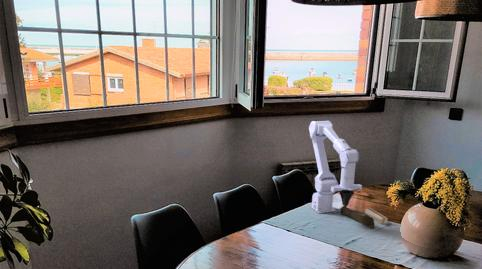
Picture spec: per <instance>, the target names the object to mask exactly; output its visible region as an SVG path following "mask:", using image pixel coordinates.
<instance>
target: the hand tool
mask: <svg viewBox="0 0 482 269" xmlns="http://www.w3.org/2000/svg"><path fill="white" fill-rule="evenodd" d="M339 212H340V214H342V215H344V216H347V217H350V218H351V219H353V220H355V221H356V222H357V221H358V222H360V223H361V226H364V227H367V228H370V229H374V228H375V220H374V219H373V218H372V217H370V216H368V215H367V214H361V213H359V212H357V211H355V210H353V209H351V208H350V207H348V206H344V205H342V206H341V207H340V209H339Z"/></svg>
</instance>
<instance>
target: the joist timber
mask: <svg viewBox="0 0 482 269" xmlns="http://www.w3.org/2000/svg"><path fill="white" fill-rule="evenodd" d="M364 215H368V216H370V217H372V218H373V220H374V221H376V222H377V223H379V224H381V225H386V224H388V217H386V216H385V215H383V214H382V213H379V212H378V211H376V210H375V209H373V208H371V207H368V208H367V207H366V208H365V211H364Z"/></svg>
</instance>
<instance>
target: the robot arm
mask: <svg viewBox="0 0 482 269" xmlns="http://www.w3.org/2000/svg"><path fill="white" fill-rule="evenodd" d="M333 128H334V125H333V123H332V122H331V121H330V120H321V121H320V120H319V121H318V120H317V121H315V120H312V121H311V122H310V124H309V126H308V130H309V136H310V139H311V142H312V146H313V150H314V156H315V160H316V166H317V170H318V174H317V175H316V176H315V177H314V188H315V190H316V192H313V194H312V196H311V197H312V198H311V207H310V208H311V209H313V210H314V211H315V212H316V213H318V214H324V213H325V212H326V213H333V212H336V209H334V208H333V205H334V204H333V201H334V194H335V193H336V192H338V193H339V195H340V198H341V202H342V206H346V207H348V205H349V203H350V201H351V199H352V197H353V196H354V195H355V190H359V191H361V190H362V188H363V185H362V184H359V183H358V184H356V183H355V173H356V163H359V161H360V160H359V159H360V153H359V152H358V150H357V149H355V148H354V149H353V148H351V147H350V145H349V144H348V143H347V142H346V140H345V139H343V138H340V137H339V136H338V134H337V132H335V130H334V129H333ZM327 138H328V140H330V142H332V143H333V144H332V147H333V148H334V150H335V151H336V152H337V153H338V155H339V160H340V167H341V172H340V182H339V183H340V184H339V183H338V181H337V179H336V175H335V174H334V173H332V172H331V171H330V167H329V163H328V157H327V154H326V149H325V143H324V141H325V139H327ZM326 213H325V214H326Z"/></svg>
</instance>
